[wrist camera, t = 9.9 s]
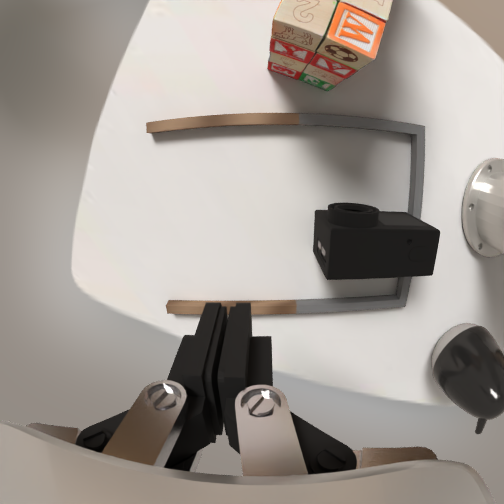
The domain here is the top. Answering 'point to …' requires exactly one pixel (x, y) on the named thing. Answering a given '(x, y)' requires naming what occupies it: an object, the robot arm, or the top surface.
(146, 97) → the top surface
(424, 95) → the top surface
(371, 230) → the digital camera
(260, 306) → the shelf lane
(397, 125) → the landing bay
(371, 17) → the stack of blocks
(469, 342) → the black rounded mouse
